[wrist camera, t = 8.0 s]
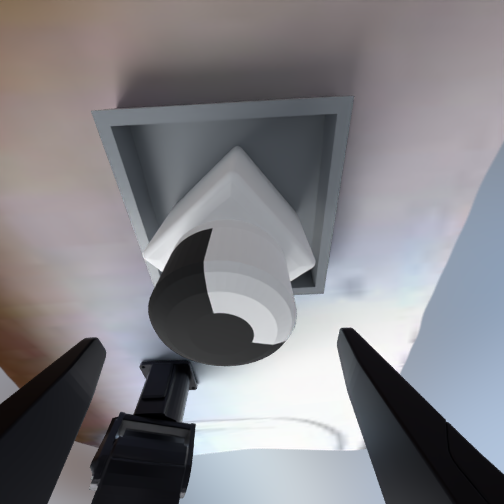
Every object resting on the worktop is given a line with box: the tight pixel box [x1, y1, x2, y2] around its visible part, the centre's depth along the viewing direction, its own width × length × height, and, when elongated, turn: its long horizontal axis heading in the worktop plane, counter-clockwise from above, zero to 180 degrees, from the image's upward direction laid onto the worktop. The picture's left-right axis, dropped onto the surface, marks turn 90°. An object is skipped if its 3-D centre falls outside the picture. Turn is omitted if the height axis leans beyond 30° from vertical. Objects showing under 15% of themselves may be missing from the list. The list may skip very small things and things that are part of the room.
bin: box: [91, 96, 354, 295], centre depth 19 cm, size 15×15×3 cm
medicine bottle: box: [143, 146, 316, 366], centre depth 14 cm, size 7×7×12 cm
